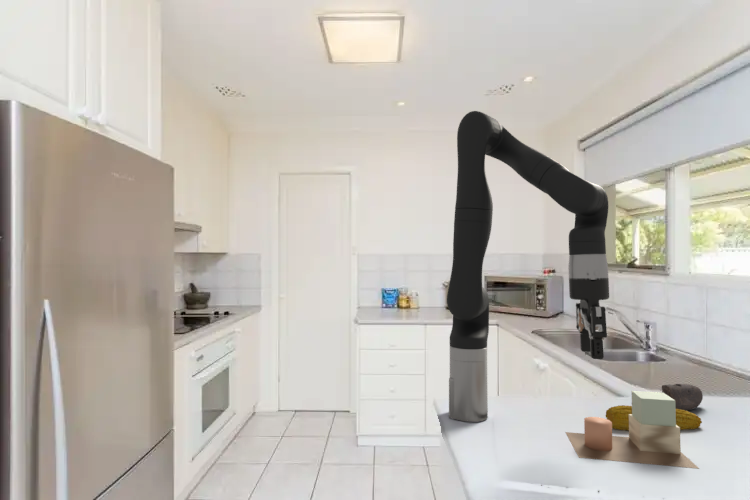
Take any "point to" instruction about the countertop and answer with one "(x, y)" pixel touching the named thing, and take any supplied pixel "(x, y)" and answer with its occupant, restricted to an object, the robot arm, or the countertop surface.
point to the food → (621, 413)
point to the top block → (653, 408)
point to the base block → (654, 437)
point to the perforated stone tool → (684, 395)
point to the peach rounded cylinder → (598, 433)
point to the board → (627, 452)
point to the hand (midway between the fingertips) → (591, 355)
